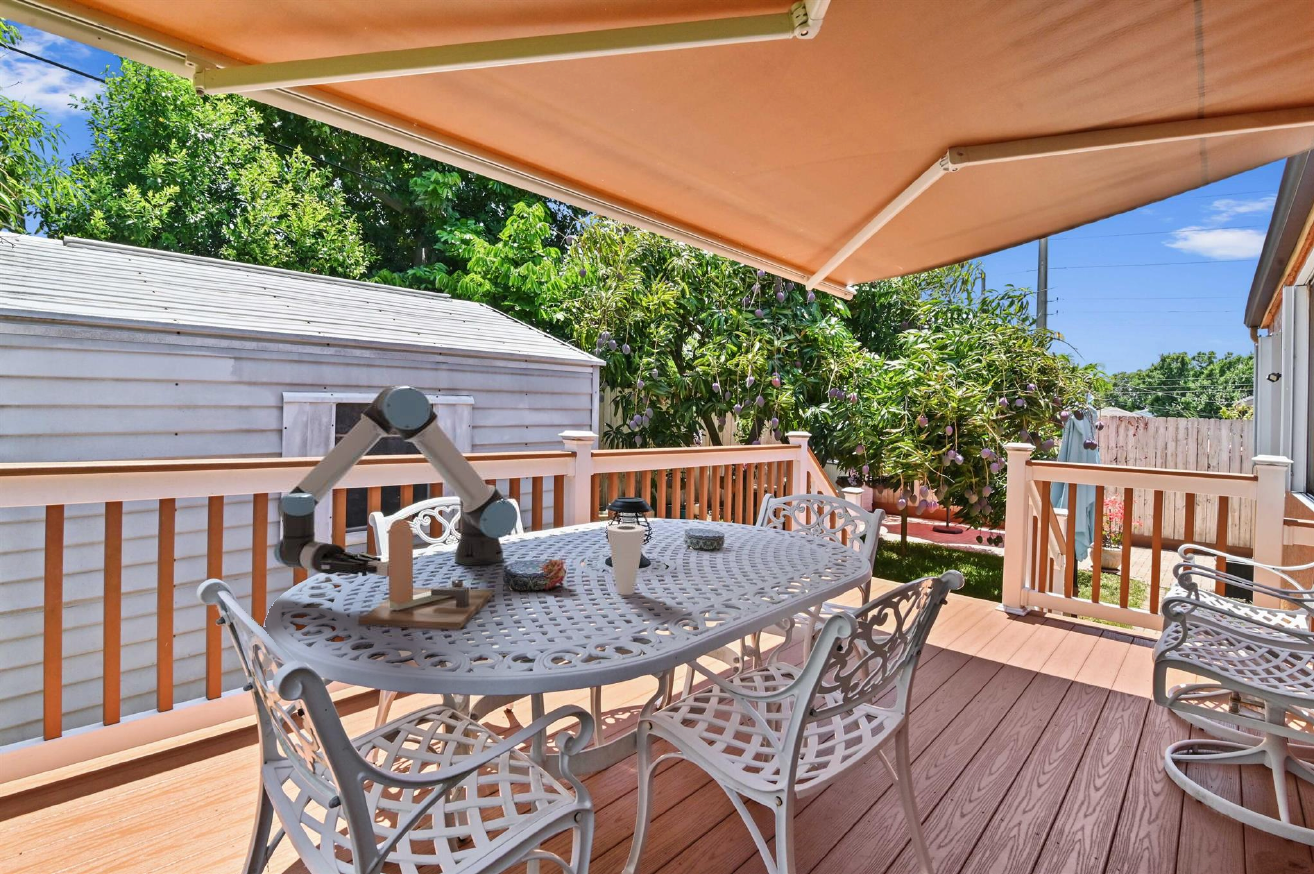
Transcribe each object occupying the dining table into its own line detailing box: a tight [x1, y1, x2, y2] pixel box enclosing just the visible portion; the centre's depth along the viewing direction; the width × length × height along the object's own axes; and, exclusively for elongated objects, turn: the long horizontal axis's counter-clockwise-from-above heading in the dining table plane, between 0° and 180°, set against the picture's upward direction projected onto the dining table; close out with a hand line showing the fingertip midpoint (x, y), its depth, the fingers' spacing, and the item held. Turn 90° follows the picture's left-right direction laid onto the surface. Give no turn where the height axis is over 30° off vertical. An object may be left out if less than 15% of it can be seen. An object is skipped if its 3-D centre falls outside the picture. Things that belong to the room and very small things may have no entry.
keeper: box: [431, 579, 470, 608], centre depth 175 cm, size 12×9×4 cm
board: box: [358, 586, 494, 630], centre depth 172 cm, size 26×24×2 cm
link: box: [387, 518, 467, 610], centre depth 172 cm, size 20×5×22 cm, turn 141°
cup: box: [606, 523, 647, 596], centre depth 188 cm, size 11×11×18 cm
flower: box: [539, 557, 568, 591], centre depth 192 cm, size 10×9×8 cm
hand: (390, 570), depth 167 cm, fingers closed
